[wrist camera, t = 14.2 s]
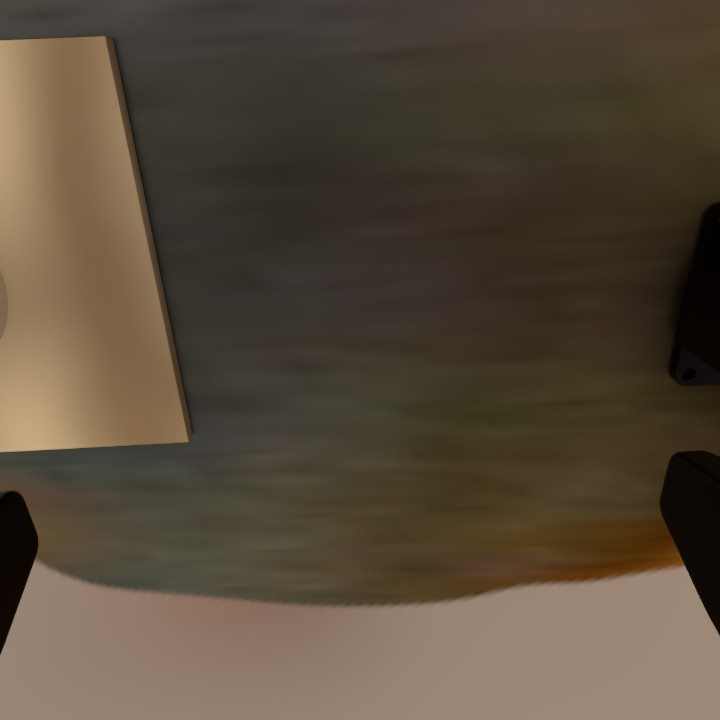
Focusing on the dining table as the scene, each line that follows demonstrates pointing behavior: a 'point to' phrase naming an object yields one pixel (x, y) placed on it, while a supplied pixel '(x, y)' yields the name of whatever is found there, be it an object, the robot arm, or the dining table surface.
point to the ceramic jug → (3, 305)
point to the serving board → (78, 260)
